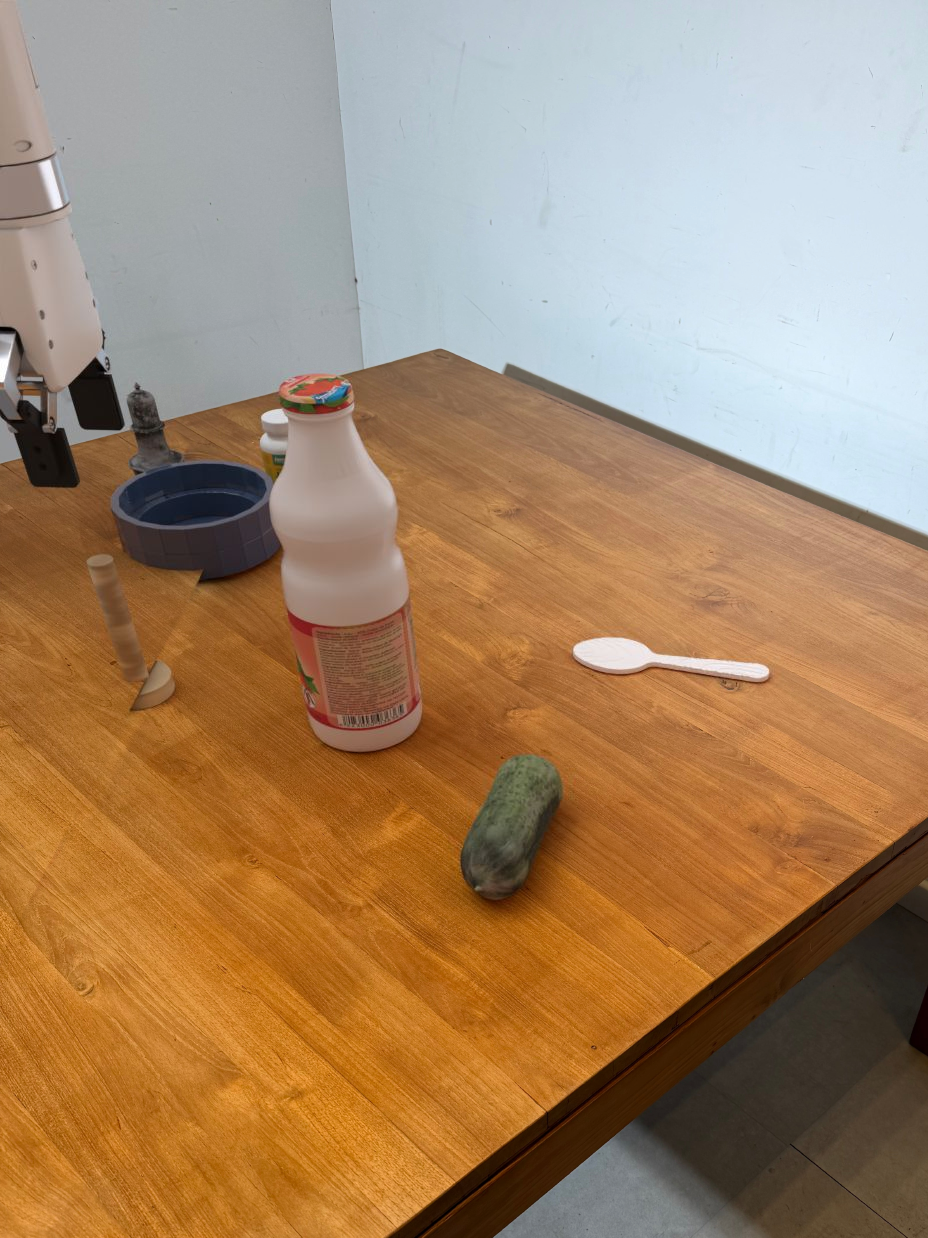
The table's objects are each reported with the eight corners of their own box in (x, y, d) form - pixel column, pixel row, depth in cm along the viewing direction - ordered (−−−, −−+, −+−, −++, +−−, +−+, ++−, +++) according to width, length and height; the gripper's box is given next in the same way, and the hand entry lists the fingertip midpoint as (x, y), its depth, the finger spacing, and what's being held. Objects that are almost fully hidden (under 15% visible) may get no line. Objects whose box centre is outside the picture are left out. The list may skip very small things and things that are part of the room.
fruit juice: (384, 767, 90) (332, 422, 71) (286, 736, 93) (212, 396, 74) (444, 706, 97) (412, 374, 78) (352, 678, 99) (299, 352, 81)
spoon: (766, 692, 99) (766, 687, 99) (566, 667, 101) (566, 662, 101) (771, 660, 103) (772, 655, 103) (579, 636, 105) (579, 631, 105)
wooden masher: (97, 710, 95) (50, 577, 86) (118, 673, 99) (76, 542, 91) (164, 710, 95) (124, 578, 87) (182, 673, 99) (146, 543, 91)
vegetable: (506, 787, 89) (503, 736, 85) (569, 797, 88) (569, 746, 85) (446, 909, 78) (440, 857, 75) (517, 923, 78) (515, 870, 74)
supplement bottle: (314, 487, 127) (300, 402, 121) (326, 507, 124) (312, 420, 117) (266, 495, 126) (249, 410, 119) (277, 515, 122) (260, 428, 116)
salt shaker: (126, 499, 124) (94, 389, 116) (154, 477, 128) (126, 369, 120) (174, 505, 123) (146, 395, 115) (201, 483, 127) (176, 376, 119)
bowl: (106, 584, 110) (88, 527, 106) (152, 512, 122) (138, 458, 118) (266, 586, 111) (254, 530, 107) (297, 514, 122) (288, 461, 118)
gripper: (-6, 155, 76) (70, 408, 87) (-129, 223, 63) (-22, 509, 74) (107, 159, 76) (168, 410, 88) (7, 227, 63) (93, 512, 75)
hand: (81, 455), depth 81 cm, fingers open, 9 cm apart
